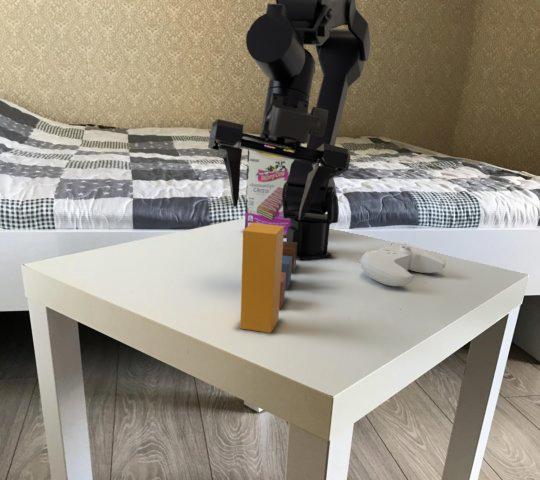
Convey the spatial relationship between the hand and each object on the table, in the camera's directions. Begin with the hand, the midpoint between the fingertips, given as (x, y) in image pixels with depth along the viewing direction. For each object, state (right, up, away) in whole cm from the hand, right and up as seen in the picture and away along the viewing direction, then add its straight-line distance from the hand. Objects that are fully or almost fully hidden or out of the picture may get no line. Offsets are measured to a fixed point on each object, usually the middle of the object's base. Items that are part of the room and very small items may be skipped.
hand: (268, 213), depth 79 cm
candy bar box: (+1, +5, +35) cm, 35 cm away
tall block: (-1, -16, -5) cm, 16 cm away
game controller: (+21, -7, +15) cm, 27 cm away
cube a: (+2, -5, +16) cm, 17 cm away
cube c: (0, -12, +2) cm, 12 cm away
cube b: (+1, -9, +9) cm, 12 cm away
